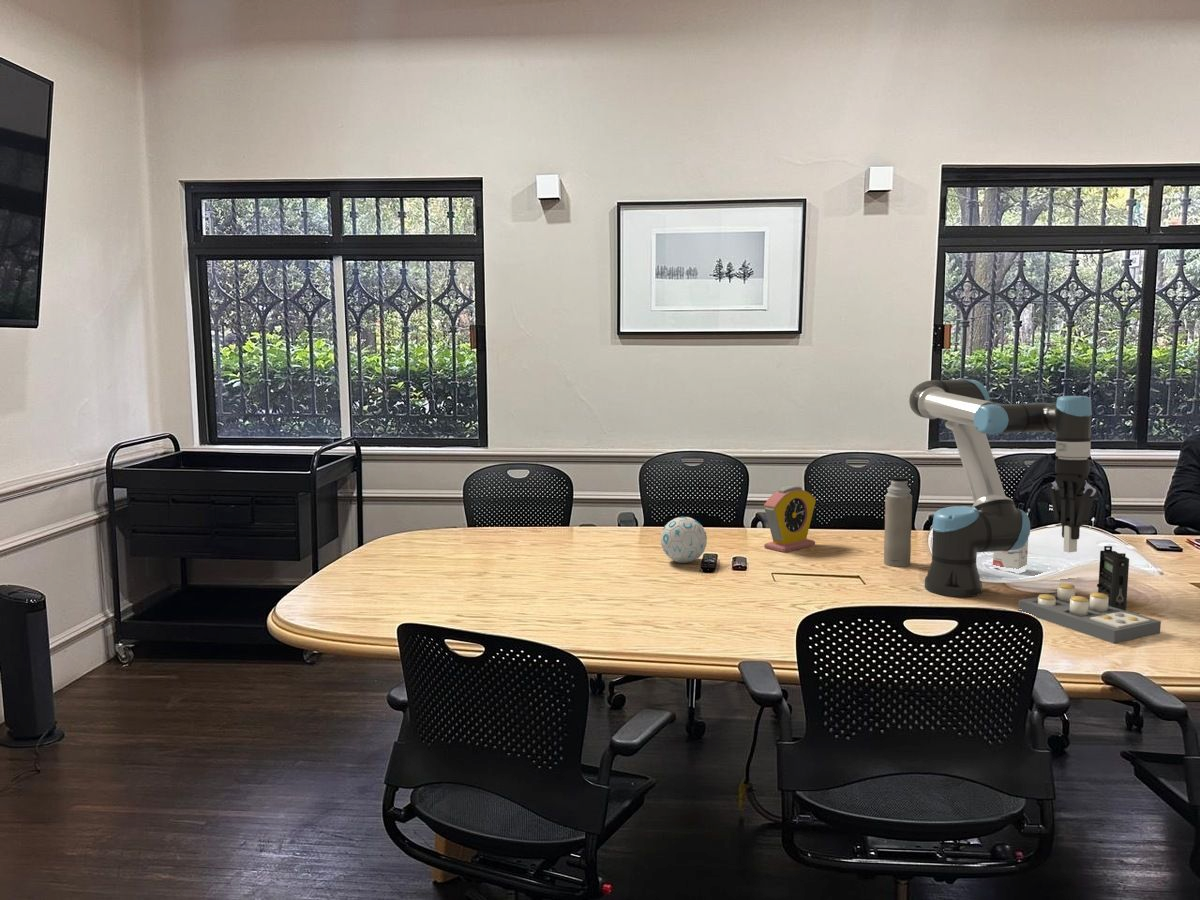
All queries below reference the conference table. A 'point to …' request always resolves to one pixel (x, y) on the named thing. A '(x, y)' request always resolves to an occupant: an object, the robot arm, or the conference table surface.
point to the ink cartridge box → (1011, 557)
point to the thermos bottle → (898, 523)
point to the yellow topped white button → (1098, 602)
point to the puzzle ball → (683, 539)
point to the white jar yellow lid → (1079, 606)
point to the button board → (1095, 621)
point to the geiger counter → (1114, 577)
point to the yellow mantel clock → (789, 518)
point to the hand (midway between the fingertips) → (1070, 551)
